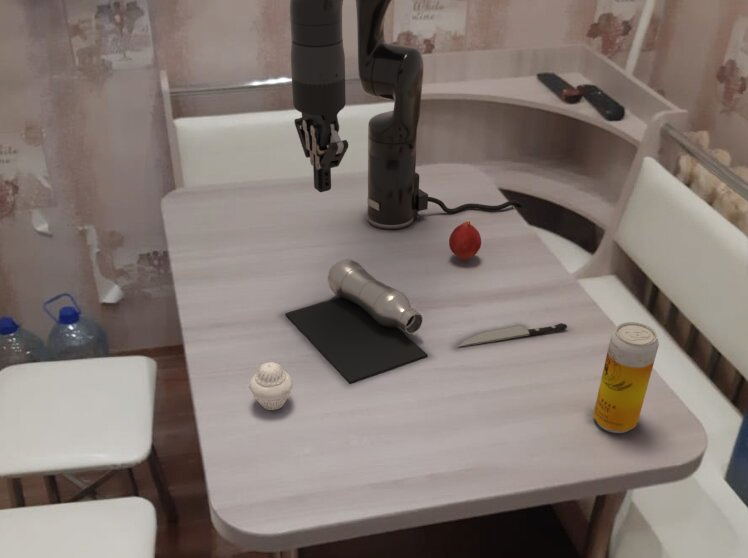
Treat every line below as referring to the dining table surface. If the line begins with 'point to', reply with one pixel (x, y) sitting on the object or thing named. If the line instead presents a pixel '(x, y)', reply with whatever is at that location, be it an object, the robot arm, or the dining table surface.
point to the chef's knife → (509, 334)
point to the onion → (465, 241)
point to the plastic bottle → (373, 296)
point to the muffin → (271, 386)
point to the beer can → (625, 376)
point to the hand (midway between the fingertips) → (322, 189)
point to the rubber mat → (354, 339)
